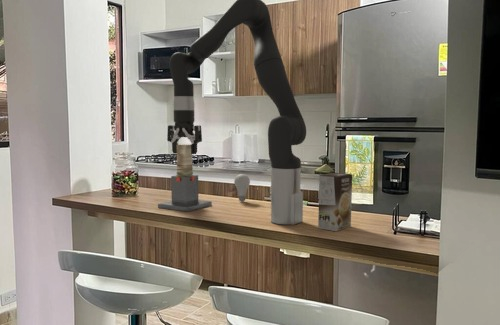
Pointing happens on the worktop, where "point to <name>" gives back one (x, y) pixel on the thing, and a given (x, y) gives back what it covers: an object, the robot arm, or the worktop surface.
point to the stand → (184, 195)
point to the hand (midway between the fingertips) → (184, 153)
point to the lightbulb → (242, 185)
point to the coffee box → (335, 201)
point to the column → (184, 160)
